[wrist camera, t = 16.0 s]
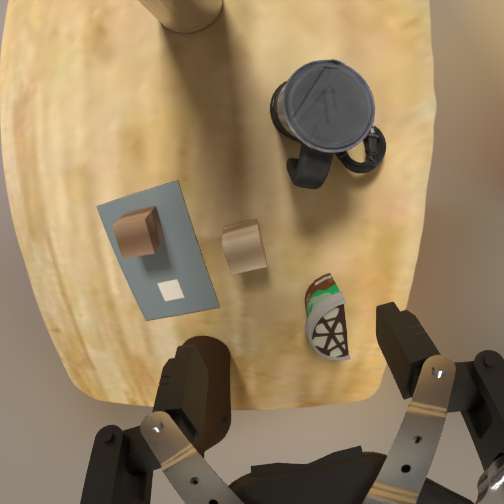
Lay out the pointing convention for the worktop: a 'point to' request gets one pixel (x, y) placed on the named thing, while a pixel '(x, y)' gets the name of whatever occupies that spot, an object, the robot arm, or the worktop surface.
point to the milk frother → (326, 120)
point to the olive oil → (214, 391)
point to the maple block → (243, 247)
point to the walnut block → (138, 232)
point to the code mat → (163, 256)
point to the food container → (326, 319)
